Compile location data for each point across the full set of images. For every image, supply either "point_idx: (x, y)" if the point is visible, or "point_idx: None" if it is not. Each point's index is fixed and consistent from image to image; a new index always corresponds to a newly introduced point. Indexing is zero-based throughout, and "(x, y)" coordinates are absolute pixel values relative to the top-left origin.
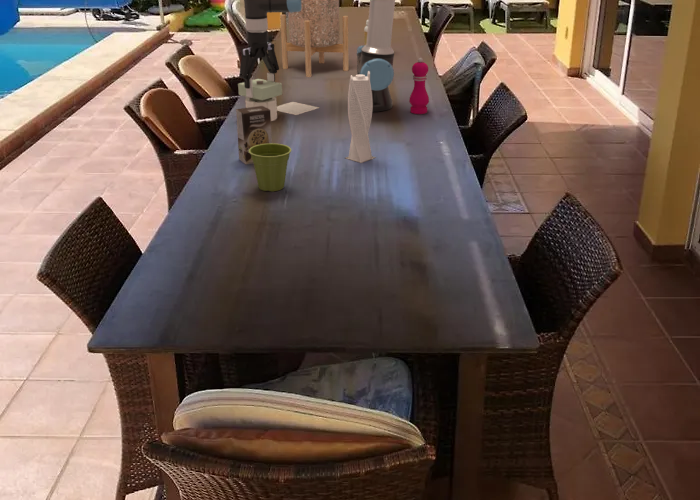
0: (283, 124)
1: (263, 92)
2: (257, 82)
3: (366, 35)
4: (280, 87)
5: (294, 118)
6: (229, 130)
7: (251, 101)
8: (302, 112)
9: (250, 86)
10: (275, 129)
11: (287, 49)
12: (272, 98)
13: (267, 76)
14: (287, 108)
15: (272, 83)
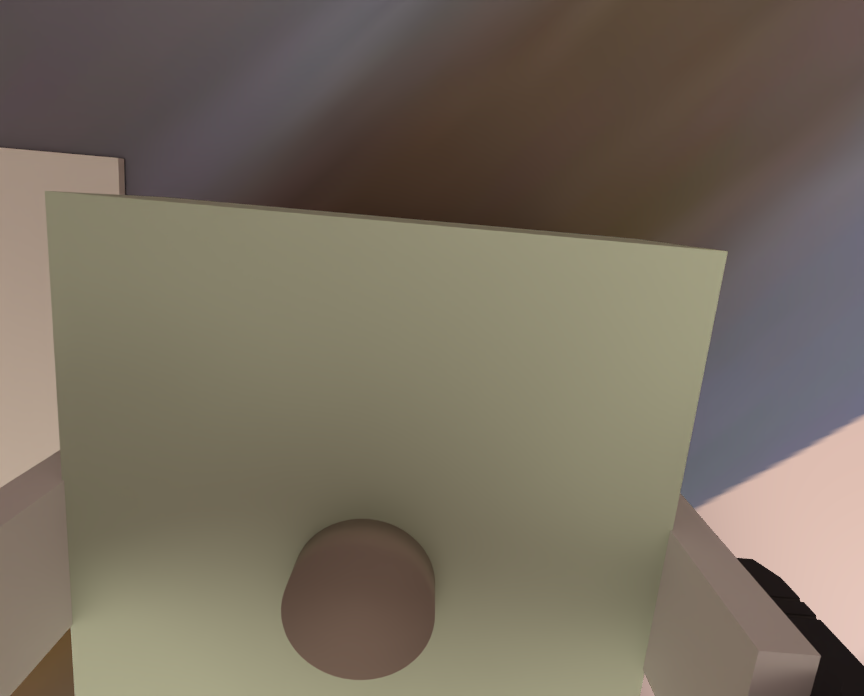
0: (427, 71)
1: (644, 242)
2: (434, 612)
3: None
4: (143, 198)
5: (194, 118)
6: (847, 383)
7: None
8: (2, 162)
9: (718, 558)
10: (614, 22)
11: None
12: None
13: (10, 684)
14: (4, 387)
15: (193, 374)
